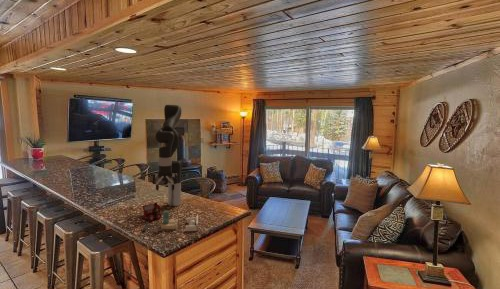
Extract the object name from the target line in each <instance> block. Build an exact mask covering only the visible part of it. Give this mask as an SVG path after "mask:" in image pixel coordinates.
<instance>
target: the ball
mask: <svg viewBox="0 0 500 289" xmlns="http://www.w3.org/2000/svg"><path fill="white" fill-rule="evenodd" d="M190 225H196V223H195V221H194V220H190V221H189V223H188V226H190Z"/></svg>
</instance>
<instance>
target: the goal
mask: <svg viewBox="0 0 500 289" xmlns="http://www.w3.org/2000/svg"><path fill="white" fill-rule="evenodd" d="M190 220H194V221H195V225H190V226H189V225H185V232H194V231H195V232H197V231H199V214H197V215H196V217H186V224H189V221H190Z"/></svg>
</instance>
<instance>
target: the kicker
mask: <svg viewBox="0 0 500 289" xmlns="http://www.w3.org/2000/svg"><path fill="white" fill-rule="evenodd" d="M162 214H163V215H162V221H161V223H160V224H161V225H160V229H178V224H179V223H178V221H179V220H178V218H176V219H170V210H163V212H162Z"/></svg>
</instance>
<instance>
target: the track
mask: <svg viewBox="0 0 500 289" xmlns="http://www.w3.org/2000/svg"><path fill="white" fill-rule="evenodd" d="M161 224H162V223H159V224H158V223H156V224H155V223H154V224H150V221H148V220H147V221H146V223H145V226H144V228H143V231H144V232H154V231H155V232H156V231H157V232H158V231H160V232H161V231H179V230H180V228H177V229H161V228H159V229H148V228H149V227H151V226H152V227H155V226H161ZM178 225H179V226H180V225H181V223H178ZM178 225H177V226H178Z"/></svg>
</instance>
